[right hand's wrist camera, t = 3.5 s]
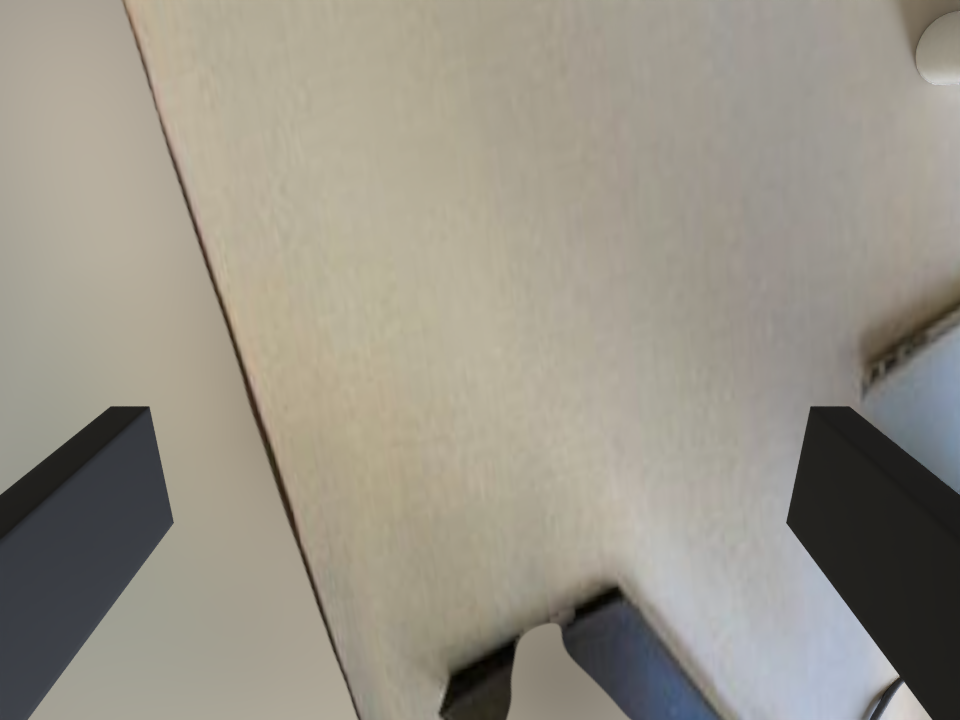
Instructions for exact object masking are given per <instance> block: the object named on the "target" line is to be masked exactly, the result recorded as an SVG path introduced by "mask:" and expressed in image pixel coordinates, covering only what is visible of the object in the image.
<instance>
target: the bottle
mask: <svg viewBox="0 0 960 720" xmlns="http://www.w3.org/2000/svg"><path fill="white" fill-rule="evenodd" d="M916 66H917V69H918V71H919V73H920V75H921V76H922V77H923V78H924V79H925V80H926V81H927V82H929V83H931V84H935V85H957V84H960V11H955V12H951V13H947V14H945V15H943V16H941V17H939V18H938V19H936V20H935V21H934V22H933V23H932V24H930V26H929V27H928V28H927V29H926V30H925V32H924V33H923V35H922V36H921V38H920V40H919V43H918V46H917V49H916Z"/></svg>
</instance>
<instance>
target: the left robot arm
mask: <svg viewBox="0 0 960 720" xmlns="http://www.w3.org/2000/svg"><path fill="white" fill-rule="evenodd" d="M903 683H904V681H903V679H902V678H901V677H900V678H899V679H898V680H897V681H895V682H894V683H893V684H892V685H891V686H890V687H889V689H888V690H887V691H886V692H885V694H884V696H883V697H882V699H881V701H880V702H879V704H878V706H877V708H876V709H875V711H874V713H873V714H872V716H871V718H870V720H879V719H880V717H881V716H882V714H883V712H884V710H885V709H886V707H887V705H888V704H889V702H890V700H891V699H892V697H893V696H894V694H895V693H896V691H897V690H898V688H899V687H900V686H901V685H902V684H903Z"/></svg>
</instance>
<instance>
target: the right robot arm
mask: <svg viewBox="0 0 960 720" xmlns="http://www.w3.org/2000/svg"><path fill="white" fill-rule="evenodd" d="M173 523H174V522H173V517H172V512H171V508H170V503H169V498H168V493H167V489H166V484H165V479H164V474H163V469H162V465H161V460H160V455H159V450H158V446H157V441H156V436H155V431H154V426H153V422H152V417H151V412H150V407H147V406H145V407H144V406H141V407H140V406H139V407H138V406H134V407H132V406H131V407H130V406H129V407H128V406H125V407H124V406H122V407H121V406H119V407H118V406H115V407H114V406H112V407H110V408H108V409H107V410H106V411H104V412H103V413H102V414H101V415H100V416H98V417H97V418H96V419H95V420H93V421H92V422H91V423H90V424H88V425H87V426H86V427H85V428H83V429H82V430H81V431H80V432H78V433H77V434H76V435H75V436H73V437H72V438H71V439H70V440H68V441H67V442H66V443H65V444H63V445H62V446H61V447H60V448H58V449H57V450H56V451H55V452H53V453H52V454H51V455H50V456H48V457H47V458H46V459H45V460H43V461H42V462H41V463H40V464H38V465H37V466H36V467H35V468H34V469H32V470H31V471H30V472H28V473H27V474H26V475H25V476H23V477H22V478H21V479H20V480H18V481H17V482H16V483H15V484H13V485H12V486H11V487H10V488H9V489H7V490H6V491H5V492H4V493H2V494H1V495H0V720H28V718H29V717H30V716H31V714H32V713H33V712H34V710H35V709H36V708H37V706H38V705H39V704H40V702H41V701H42V700H43V698H44V697H45V696H46V694H47V693H48V691H49V690H50V689H51V687H52V686H53V685H54V683H55V682H56V681H57V679H58V678H59V677H60V675H61V674H62V673H63V671H64V670H65V669H66V667H67V666H68V665H69V663H70V662H71V661H72V659H73V658H74V656H75V655H76V654H77V652H78V651H79V650H80V648H81V647H82V646H83V644H84V643H85V642H86V640H87V639H88V638H89V636H90V635H91V634H92V632H93V631H94V630H95V628H96V627H97V626H98V624H99V623H100V621H101V620H102V619H103V617H104V616H105V615H106V613H107V612H108V611H109V609H110V608H111V607H112V605H113V604H114V603H115V601H116V600H117V599H118V597H119V596H120V595H121V593H122V592H123V590H124V589H125V588H126V586H127V585H128V584H129V582H130V581H131V580H132V578H133V577H134V576H135V574H136V573H137V572H138V570H139V569H140V568H141V566H142V565H143V563H144V562H145V561H146V559H147V558H148V557H149V555H150V554H151V553H152V551H153V550H154V549H155V547H156V546H157V545H158V543H159V542H160V541H161V539H162V538H163V537H164V535H165V534H166V533H167V531H168V530H169V529H170V527H171V526H172V524H173ZM786 523H787V524H788V526H789V527H790V529H791V530H792V531H793V533H794V534H795V535H796V537H797V538H798V539H799V541H800V542H801V543H802V545H803V546H804V547H805V549H806V550H807V551H808V553H809V554H810V555H811V557H812V558H813V560H814V561H815V562H816V564H817V565H818V566H819V568H820V569H821V570H822V572H823V573H824V574H825V576H826V577H827V578H828V580H829V581H830V582H831V584H832V585H833V586H834V588H835V589H836V590H837V592H838V593H839V595H840V596H841V597H842V599H843V600H844V601H845V603H846V604H847V605H848V607H849V608H850V609H851V611H852V612H853V613H854V615H855V616H856V617H857V619H858V620H859V621H860V623H861V624H862V626H863V627H864V628H865V630H866V631H867V632H868V634H869V635H870V636H871V638H872V639H873V640H874V642H875V643H876V644H877V646H878V647H879V648H880V650H881V651H882V652H883V654H884V655H885V656H886V658H887V659H888V661H889V662H890V663H891V665H892V666H893V667H894V669H895V670H896V671H897V673H898V674H899V675H900V677H901V678H902V679H903V681H904V682H905V683H906V685H907V686H908V687H909V689H910V690H911V692H912V693H913V694H914V696H915V697H916V698H917V700H918V701H919V702H920V704H921V705H922V706H923V708H924V709H925V710H926V712H927V713H928V714H929V716H930V717H931V718H932V720H960V495H959V494H958V493H956V492H955V491H954V490H953V489H951V488H950V487H949V486H948V485H947V484H945V483H944V482H943V481H942V480H940V479H939V478H938V477H937V476H935V475H934V474H933V473H932V472H930V471H929V470H928V469H927V468H925V467H924V466H923V465H922V464H920V463H919V462H918V461H917V460H915V459H914V458H913V457H912V456H910V455H909V454H908V453H907V452H905V451H904V450H903V449H902V448H900V447H899V446H898V445H897V444H895V443H894V442H893V441H892V440H890V439H889V438H888V437H887V436H885V435H884V434H883V433H882V432H880V431H879V430H878V429H877V428H875V427H874V426H873V425H872V424H870V423H869V422H868V421H867V420H865V419H864V418H863V417H862V416H860V415H859V414H858V413H857V412H855V411H854V410H853V409H852V408H851V407H849V406H811V407H810V412H809V417H808V422H807V426H806V431H805V436H804V441H803V446H802V450H801V455H800V460H799V465H798V469H797V474H796V479H795V484H794V489H793V493H792V498H791V503H790V508H789V512H788V517H787V522H786Z"/></svg>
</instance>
